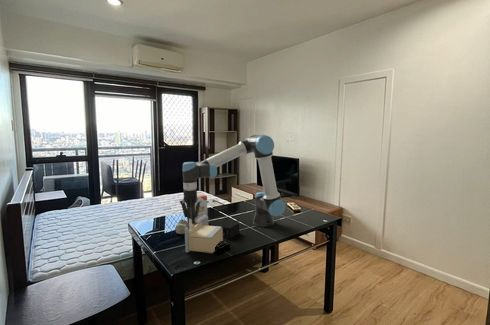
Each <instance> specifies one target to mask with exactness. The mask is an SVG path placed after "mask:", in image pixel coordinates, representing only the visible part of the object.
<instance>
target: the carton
mask: <svg viewBox="0 0 490 325" xmlns="http://www.w3.org/2000/svg"><path fill="white" fill-rule="evenodd" d="M201 222H202V225H207V226H209V216H208V215H207V217H206V218H205V219H203V220H202V221H201ZM223 234H224V232H223V228H221V229H220V230H219V231H218V232H217V233H216V234H215V235H214V236H213V237H212V239H209V238H200V237H190V236H189V228H185V233H184V244H185V248H184V249H185V250H184V251H185V253H189V252H190V251H191V252H198V253H200V252H201V253H205V254H207V253H208V254H214V253H215V252H216V250H215V247H216V245H217V244H218V243H219V242H220V241H223V242H224V235H223Z"/></svg>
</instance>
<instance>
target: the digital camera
mask: <svg viewBox="0 0 490 325" xmlns="http://www.w3.org/2000/svg"><path fill="white" fill-rule="evenodd" d="M222 229H223V234H224V235H223V238H225V239H229V240H231V239H232V238H235V237H236V236H237V235H239V234H240V223H239V222H235V221H234V222H232V223H229V224H228V225H223V227H222Z"/></svg>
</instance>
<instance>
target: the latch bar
mask: <svg viewBox="0 0 490 325" xmlns="http://www.w3.org/2000/svg"><path fill="white" fill-rule="evenodd" d="M207 216H208V213H207V214H204V215H203V216H202V217H200V218H199V219H197V220H196V223H200V222H201V221H202V220H203V219H205V218H206V217H207Z"/></svg>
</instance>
